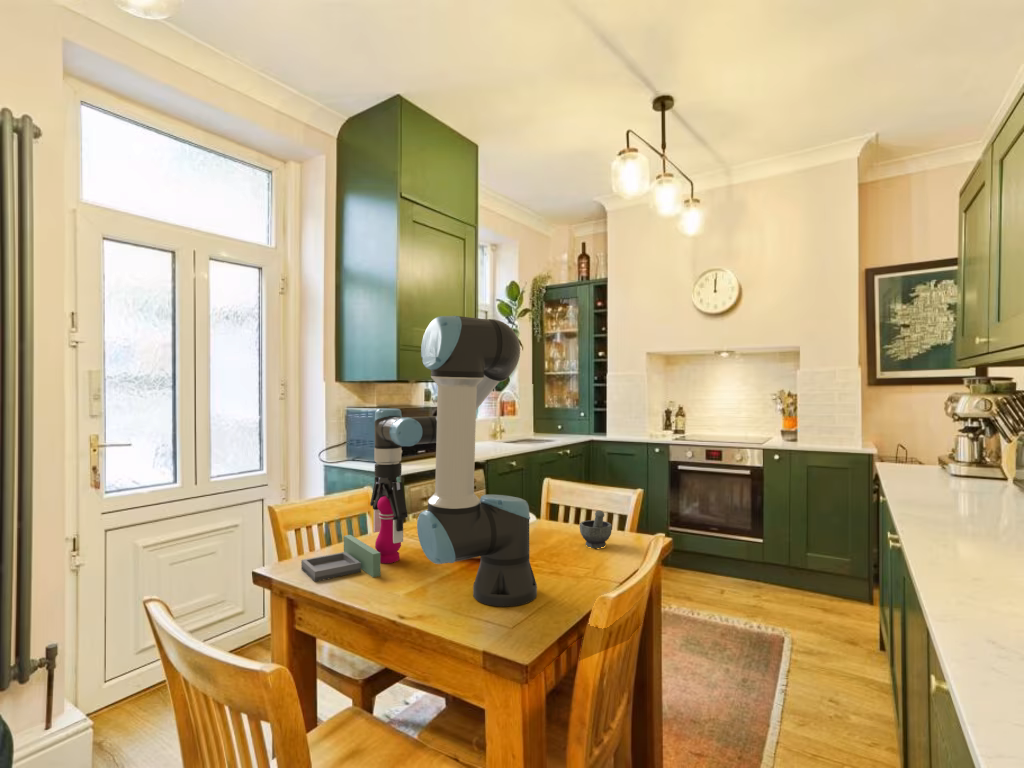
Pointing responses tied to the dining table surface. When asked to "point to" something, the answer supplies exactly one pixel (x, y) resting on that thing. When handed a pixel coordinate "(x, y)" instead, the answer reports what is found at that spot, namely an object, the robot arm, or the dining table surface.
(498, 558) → the robot arm
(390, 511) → the pepper mill
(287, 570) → the dining table surface
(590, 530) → the mortar and pestle
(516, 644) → the dining table surface
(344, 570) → the tray
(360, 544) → the board
